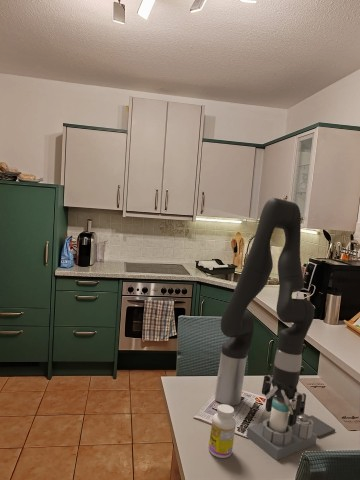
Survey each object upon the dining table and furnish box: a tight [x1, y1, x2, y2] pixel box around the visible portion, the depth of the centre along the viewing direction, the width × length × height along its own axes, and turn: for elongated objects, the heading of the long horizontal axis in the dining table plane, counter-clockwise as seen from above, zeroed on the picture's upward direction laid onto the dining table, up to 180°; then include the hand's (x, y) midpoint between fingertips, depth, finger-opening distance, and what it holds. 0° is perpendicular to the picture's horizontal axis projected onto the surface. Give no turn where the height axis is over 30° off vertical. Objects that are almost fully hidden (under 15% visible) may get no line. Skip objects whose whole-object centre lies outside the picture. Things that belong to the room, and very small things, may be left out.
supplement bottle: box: [208, 403, 237, 459], centre depth 106 cm, size 7×7×13 cm
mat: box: [308, 414, 336, 439], centre depth 125 cm, size 9×9×1 cm
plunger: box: [296, 413, 310, 425], centre depth 115 cm, size 4×4×5 cm
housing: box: [246, 415, 318, 461], centre depth 115 cm, size 18×12×7 cm, turn 124°
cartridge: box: [269, 396, 290, 433], centre depth 112 cm, size 5×5×11 cm
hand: (279, 417), depth 111 cm, fingers open, 8 cm apart
